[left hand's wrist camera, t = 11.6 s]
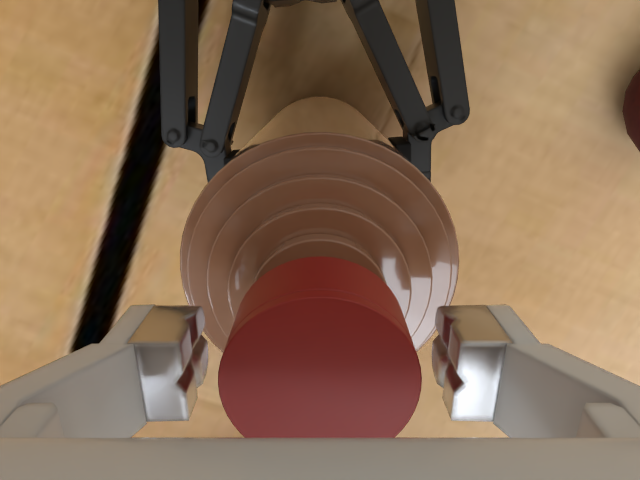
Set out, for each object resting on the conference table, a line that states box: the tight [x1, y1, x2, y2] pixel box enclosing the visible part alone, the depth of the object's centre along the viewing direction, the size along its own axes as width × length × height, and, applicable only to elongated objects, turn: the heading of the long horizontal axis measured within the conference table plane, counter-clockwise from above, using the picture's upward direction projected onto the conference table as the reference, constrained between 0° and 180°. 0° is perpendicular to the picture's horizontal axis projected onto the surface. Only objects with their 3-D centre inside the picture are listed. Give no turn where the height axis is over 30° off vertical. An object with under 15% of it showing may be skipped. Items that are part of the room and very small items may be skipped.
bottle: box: [180, 96, 459, 353], centre depth 20 cm, size 8×8×23 cm
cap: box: [218, 256, 422, 438], centre depth 9 cm, size 4×4×2 cm
